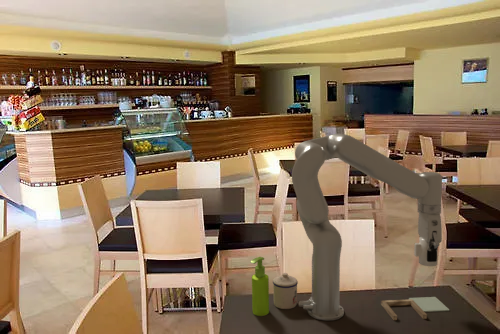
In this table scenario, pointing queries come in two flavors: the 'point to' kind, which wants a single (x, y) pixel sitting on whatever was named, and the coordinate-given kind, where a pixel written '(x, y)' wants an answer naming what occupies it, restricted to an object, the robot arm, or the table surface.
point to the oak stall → (402, 302)
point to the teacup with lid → (285, 291)
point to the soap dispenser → (260, 289)
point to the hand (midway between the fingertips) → (428, 257)
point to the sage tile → (430, 304)
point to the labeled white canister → (423, 252)
